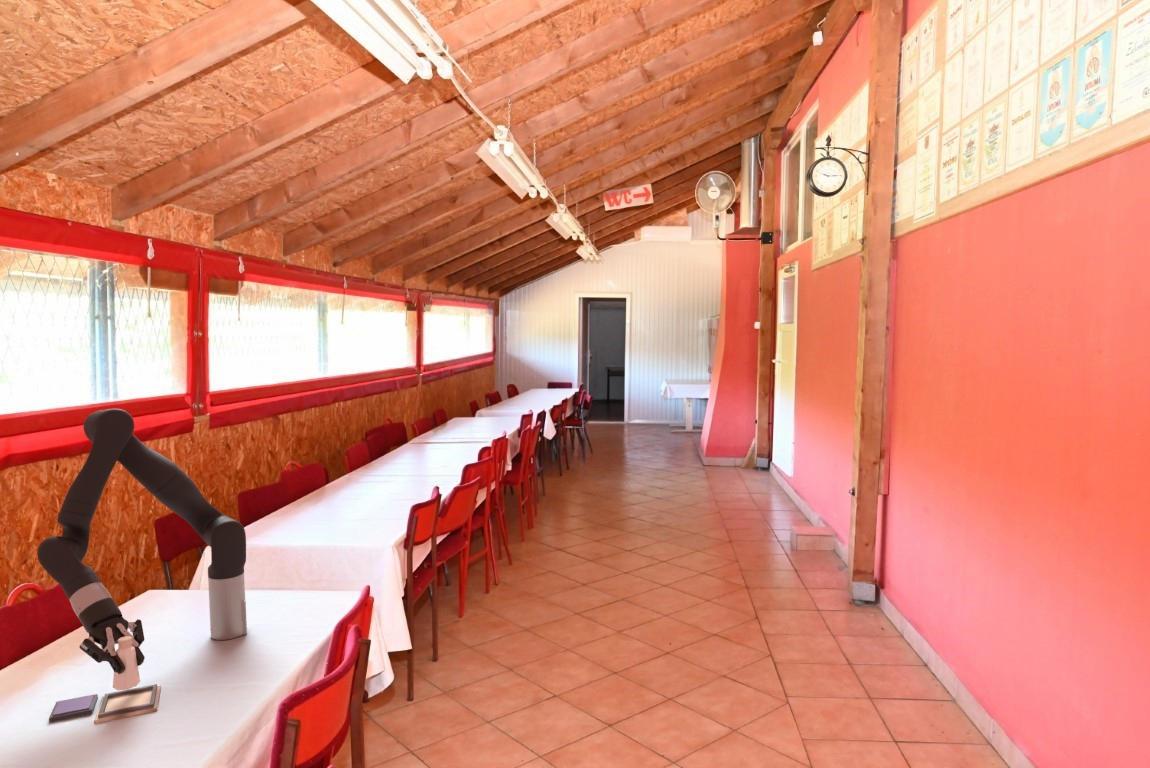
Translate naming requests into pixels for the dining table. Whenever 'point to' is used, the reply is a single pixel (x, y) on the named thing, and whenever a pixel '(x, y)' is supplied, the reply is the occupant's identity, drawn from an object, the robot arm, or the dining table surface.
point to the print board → (128, 703)
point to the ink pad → (73, 708)
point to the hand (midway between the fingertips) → (131, 667)
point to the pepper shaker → (126, 665)
